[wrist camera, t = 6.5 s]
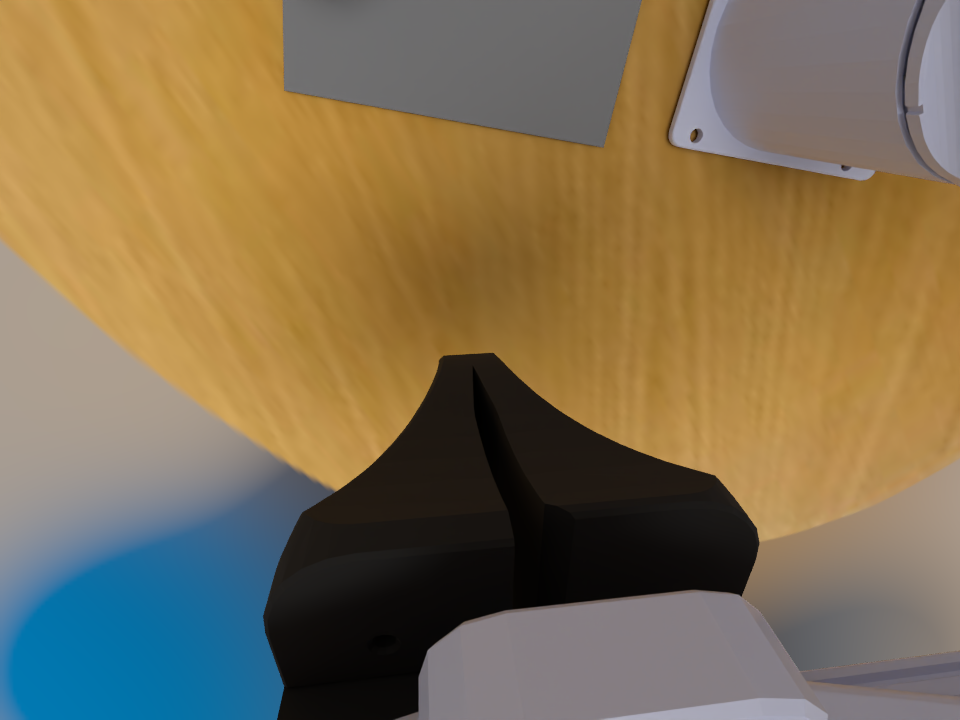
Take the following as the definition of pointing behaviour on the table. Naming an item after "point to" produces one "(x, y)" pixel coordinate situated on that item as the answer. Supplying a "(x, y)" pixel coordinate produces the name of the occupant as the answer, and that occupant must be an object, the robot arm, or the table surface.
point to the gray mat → (467, 59)
